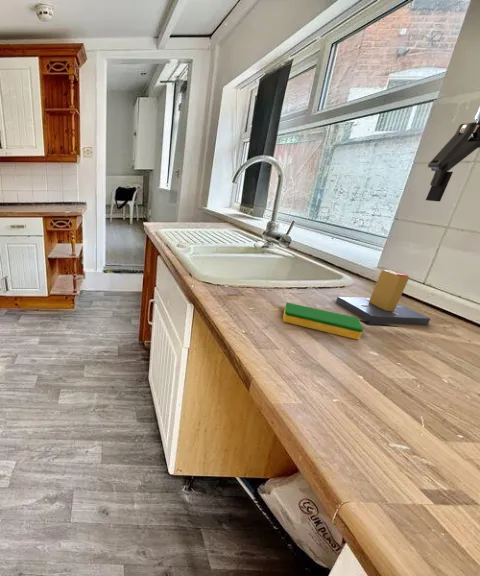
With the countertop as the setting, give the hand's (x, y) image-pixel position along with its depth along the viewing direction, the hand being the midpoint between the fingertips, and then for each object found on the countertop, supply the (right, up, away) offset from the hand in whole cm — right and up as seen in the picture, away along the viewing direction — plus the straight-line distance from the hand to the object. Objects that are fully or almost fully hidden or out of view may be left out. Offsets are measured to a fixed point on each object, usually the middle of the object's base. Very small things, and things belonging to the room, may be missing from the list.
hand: (461, 202), depth 72 cm
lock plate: (-18, -27, +2) cm, 33 cm away
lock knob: (-18, -25, +1) cm, 31 cm away
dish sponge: (-37, -29, -4) cm, 47 cm away
